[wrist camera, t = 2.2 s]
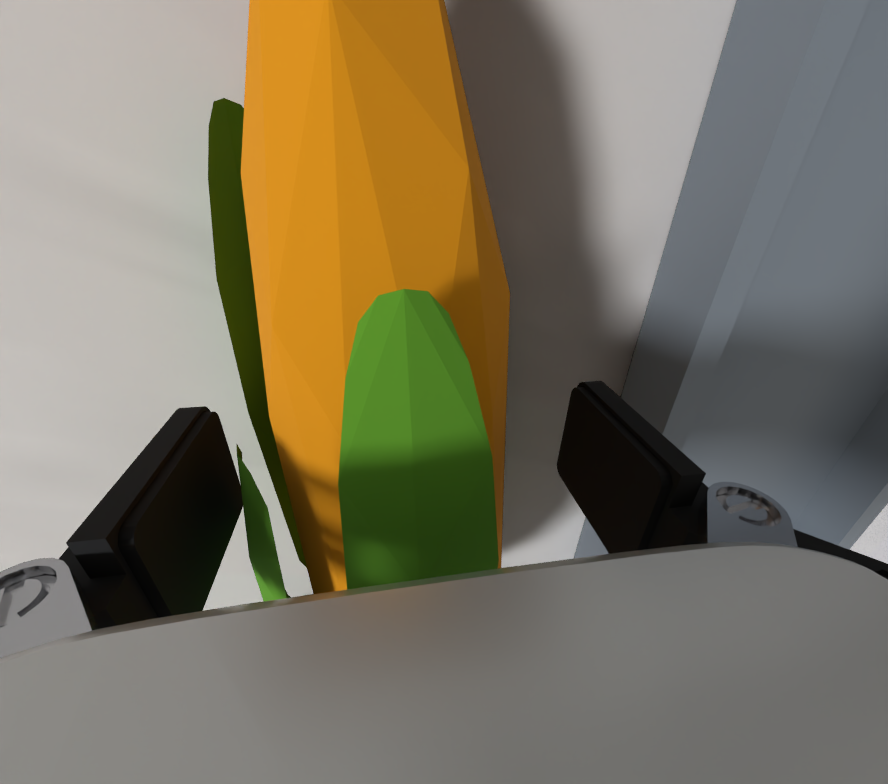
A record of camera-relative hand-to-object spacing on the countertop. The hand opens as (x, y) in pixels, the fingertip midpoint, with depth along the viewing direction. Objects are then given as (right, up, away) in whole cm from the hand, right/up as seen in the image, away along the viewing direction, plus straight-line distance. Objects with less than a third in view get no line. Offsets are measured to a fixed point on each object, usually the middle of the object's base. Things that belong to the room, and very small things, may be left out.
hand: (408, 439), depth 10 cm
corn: (-1, +2, +3) cm, 4 cm away
